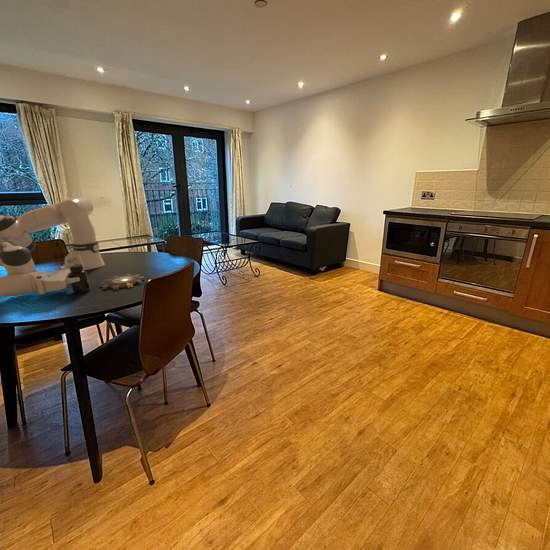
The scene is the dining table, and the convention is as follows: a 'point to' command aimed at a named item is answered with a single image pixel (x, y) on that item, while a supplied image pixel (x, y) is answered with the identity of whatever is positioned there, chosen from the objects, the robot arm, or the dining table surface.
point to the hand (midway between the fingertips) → (80, 276)
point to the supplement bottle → (84, 282)
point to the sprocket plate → (122, 281)
